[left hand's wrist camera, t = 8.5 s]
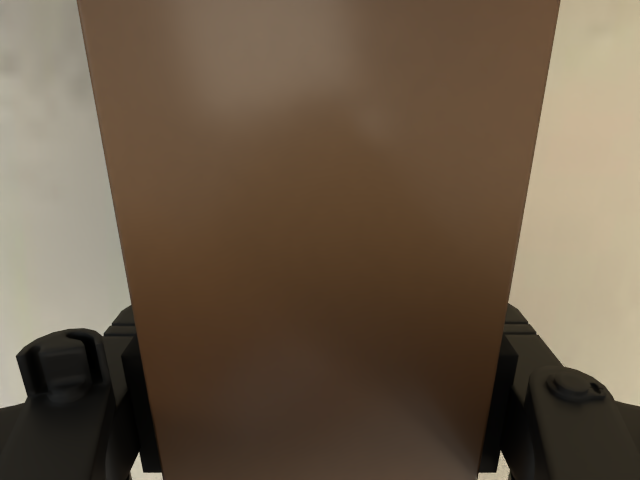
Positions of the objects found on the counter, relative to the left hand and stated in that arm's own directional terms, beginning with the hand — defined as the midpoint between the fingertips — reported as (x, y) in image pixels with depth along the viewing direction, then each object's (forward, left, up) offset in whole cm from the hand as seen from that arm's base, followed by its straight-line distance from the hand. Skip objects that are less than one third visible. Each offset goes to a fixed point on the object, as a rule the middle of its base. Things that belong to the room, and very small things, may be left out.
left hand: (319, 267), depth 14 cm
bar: (+16, -11, 0) cm, 19 cm away
